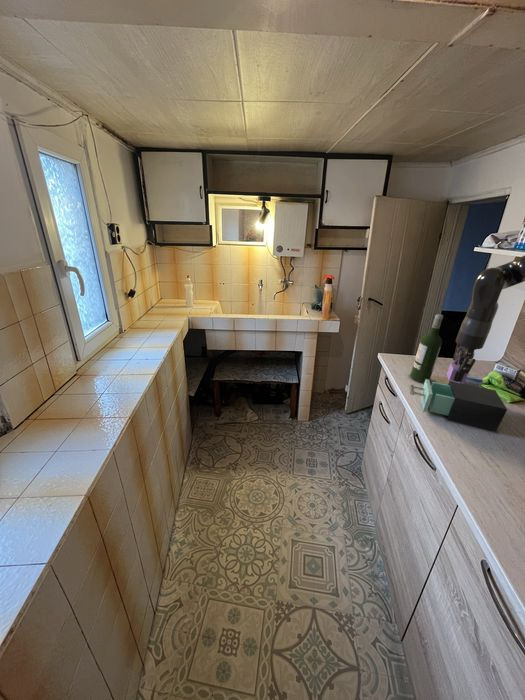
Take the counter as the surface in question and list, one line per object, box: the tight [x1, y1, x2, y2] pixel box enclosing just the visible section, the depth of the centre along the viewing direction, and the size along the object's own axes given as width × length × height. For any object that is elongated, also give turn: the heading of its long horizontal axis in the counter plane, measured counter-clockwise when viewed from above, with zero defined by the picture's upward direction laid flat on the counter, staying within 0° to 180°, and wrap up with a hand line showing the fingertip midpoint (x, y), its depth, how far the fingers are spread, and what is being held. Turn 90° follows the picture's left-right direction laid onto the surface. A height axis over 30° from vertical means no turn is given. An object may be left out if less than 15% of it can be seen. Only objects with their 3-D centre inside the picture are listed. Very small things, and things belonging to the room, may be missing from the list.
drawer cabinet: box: [445, 380, 508, 433], centre depth 101 cm, size 15×13×10 cm
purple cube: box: [446, 363, 469, 383], centre depth 96 cm, size 4×4×4 cm
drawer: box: [408, 379, 455, 416], centre depth 105 cm, size 19×11×8 cm, turn 67°
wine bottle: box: [409, 313, 444, 384], centre depth 121 cm, size 8×8×30 cm
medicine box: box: [457, 373, 484, 388], centre depth 115 cm, size 8×4×9 cm, turn 72°
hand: (455, 377), depth 97 cm, fingers closed on purple cube, 4 cm apart
